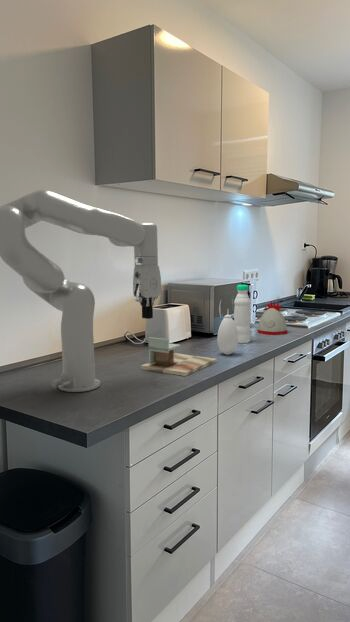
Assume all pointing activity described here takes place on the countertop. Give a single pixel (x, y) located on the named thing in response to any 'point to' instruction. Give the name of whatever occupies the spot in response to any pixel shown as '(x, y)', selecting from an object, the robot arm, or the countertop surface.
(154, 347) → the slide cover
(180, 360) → the puzzle board
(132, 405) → the countertop surface
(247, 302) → the water bottle
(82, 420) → the countertop surface
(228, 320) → the sauce bottle
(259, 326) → the kitchen timer
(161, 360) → the walnut block
